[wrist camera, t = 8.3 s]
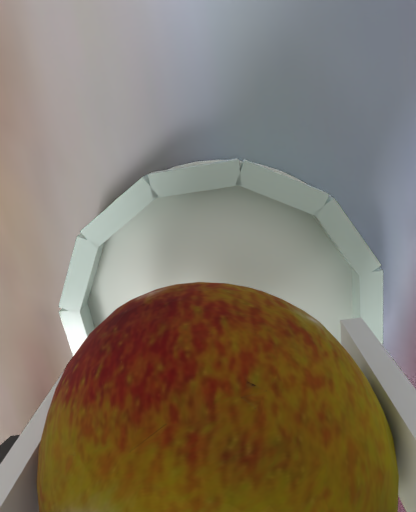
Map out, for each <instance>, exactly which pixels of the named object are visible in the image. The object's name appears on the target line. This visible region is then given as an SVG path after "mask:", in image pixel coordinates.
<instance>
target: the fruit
mask: <svg viewBox="0 0 416 512" xmlns="http://www.w3.org/2000/svg"><path fill="white" fill-rule="evenodd" d="M398 487H399V474H398V467H397V460H396V453H395V447H394V440H393V436H392V432H391V429H390V426H389V424H388V421H387V419H386V416H385V414H384V411H383V409H382V407H381V405H380V403H379V401H378V398H377V396H376V395H375V393H374V391H373V389H372V387H371V385H370V383H369V382H368V380H367V378H366V377H365V375H364V374H363V372H362V371H361V369H360V368H359V367H358V365H357V364H356V362H355V361H354V359H353V358H352V357H351V356H350V354H349V353H348V352H347V351H346V350H345V348H344V347H343V346H342V345H341V344H340V343H339V341H338V340H337V339H336V338H335V337H334V336H333V335H332V334H331V333H330V332H329V331H328V330H327V329H326V328H325V327H324V326H323V325H322V324H321V323H320V322H319V321H318V320H316V319H315V318H314V317H312V316H311V315H309V314H308V313H306V312H305V311H303V310H302V309H300V308H298V307H296V306H294V305H292V304H290V303H289V302H287V301H285V300H283V299H281V298H278V297H276V296H273V295H271V294H268V293H266V292H263V291H260V290H256V289H253V288H249V287H245V286H239V285H233V284H228V283H210V282H194V283H184V284H175V285H171V286H167V287H163V288H159V289H156V290H153V291H151V292H148V293H146V294H144V295H141V296H139V297H136V298H134V299H131V300H130V301H128V302H127V303H125V304H123V305H122V306H120V307H118V308H117V309H116V310H115V311H114V312H112V313H111V314H110V315H109V316H108V317H107V318H106V319H105V320H104V321H103V322H102V323H101V324H99V325H98V326H97V327H96V328H95V329H94V330H93V331H92V332H91V333H90V334H89V335H88V337H87V338H86V339H85V341H84V342H83V344H82V345H81V346H80V348H79V349H78V350H77V352H76V353H75V355H74V356H73V357H72V359H71V360H70V362H69V363H68V364H67V366H66V368H65V370H64V372H63V374H62V377H61V379H60V381H59V383H58V385H57V387H56V389H55V392H54V395H53V398H52V401H51V404H50V407H49V410H48V413H47V417H46V421H45V425H44V429H43V433H42V437H41V441H40V445H39V453H38V469H37V494H38V504H39V512H397V511H398Z"/></svg>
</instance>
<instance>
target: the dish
mask: <svg viewBox="0 0 416 512" xmlns="http://www.w3.org/2000/svg"><path fill="white" fill-rule="evenodd" d="M80 233H81V234H80V235H78V236H77V238H76V242H75V246H74V249H73V253H72V257H71V261H70V265H69V268H68V272H67V276H66V280H65V284H64V288H63V291H62V295H61V299H60V303H59V307H60V308H62V309H61V310H60V311H59V315H60V318H61V321H62V324H63V327H64V330H65V333H66V336H67V339H68V342H69V345H70V348H71V351H72V354H73V356H74V355H75V353H76V352H77V350H78V349H79V348H80V346H81V345H82V344H83V342H84V341H85V339H86V338H87V337H88V335H89V334H90V333H91V332H92V331H93V330H94V329H95V328H96V327H97V326H98V325H99V324H101V323H102V322H103V321H104V320H105V319H106V318H107V317H108V316H109V315H110V314H111V313H112V312H114V311H115V310H116V309H117V308H118V307H120V306H122V305H123V304H125V303H127V302H128V301H130V300H131V299H134V298H136V297H139V296H141V295H144V294H146V293H148V292H151V291H153V290H156V289H159V288H163V287H167V286H171V285H175V284H184V283H194V282H210V283H228V284H233V285H239V286H245V287H249V288H253V289H256V290H260V291H263V292H266V293H268V294H271V295H273V296H276V297H278V298H281V299H283V300H285V301H287V302H289V303H290V304H292V305H294V306H296V307H298V308H300V309H302V310H303V311H305V312H306V313H308V314H309V315H311V316H312V317H314V318H315V319H316V320H318V321H319V322H320V323H321V324H322V325H323V326H324V327H325V328H326V329H327V330H328V331H329V332H330V333H331V334H332V335H333V336H334V337H335V338H336V339H337V340H338V341H339V343H340V344H341V324H340V320H344V319H353V318H362V319H363V320H364V322H365V323H366V324H367V326H368V327H369V328H370V330H371V331H372V332H373V333H374V335H375V336H376V337H377V339H378V340H379V341H380V343H381V344H383V270H382V269H381V268H380V266H381V264H380V262H379V261H378V260H377V258H376V257H375V255H374V254H373V252H372V251H371V250H370V248H369V247H368V245H367V244H366V242H365V241H364V240H363V238H362V237H361V235H360V234H359V232H358V231H357V230H356V228H355V227H354V225H353V224H352V222H351V221H350V220H349V218H348V217H347V215H346V214H345V212H344V211H343V210H342V208H341V207H340V205H339V204H338V202H337V201H336V200H335V198H333V197H332V196H330V194H328V193H326V192H324V191H322V190H320V189H317V188H315V187H312V186H310V185H308V184H306V183H305V182H303V181H301V180H299V179H297V178H295V177H293V176H291V175H289V174H287V173H285V172H283V171H280V170H277V169H274V168H271V167H268V166H265V165H262V164H257V163H253V162H250V161H248V160H245V159H243V161H240V160H238V158H235V159H229V160H219V159H217V160H206V161H196V162H191V163H187V164H183V165H179V166H174V167H172V168H169V169H167V170H162V171H156V172H152V173H149V174H148V175H145V176H143V177H142V178H140V179H139V180H138V181H137V182H136V183H135V184H134V185H132V186H131V187H130V188H129V189H128V190H127V191H126V192H124V193H123V194H122V195H120V196H119V197H118V198H116V199H115V200H114V201H113V202H112V203H111V204H110V205H109V206H108V207H107V208H106V209H105V210H104V211H103V212H102V213H101V214H99V215H98V216H97V217H96V218H95V219H94V220H93V221H91V222H90V223H89V224H88V225H87V226H86V227H85V228H83V229H82V230H81V231H80Z"/></svg>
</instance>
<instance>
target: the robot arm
mask: <svg viewBox="0 0 416 512" xmlns="http://www.w3.org/2000/svg"><path fill="white" fill-rule="evenodd" d="M340 324H341V345H342V346H343V347H344V348H345V350H346V351H347V352H348V353H349V354H350V356H351V357H352V358H353V359H354V361H355V362H356V364H357V365H358V367H359V368H360V369H361V371H362V372H363V374H364V375H365V377H366V378H367V380H368V382H369V383H370V385H371V387H372V389H373V391H374V393H375V395H376V396H377V398H378V401H379V403H380V405H381V407H382V409H383V411H384V414H385V416H386V419H387V421H388V424H389V426H390V429H391V432H392V436H393V440H394V447H395V453H396V460H397V467H398V474H399V487H398V496H399V498H400V500H401V502H402V504H403V506H404V508H405V510H406V512H416V389H415V388H414V387H413V385H412V384H411V383H410V381H409V380H408V379H407V377H406V376H405V375H404V373H403V372H402V371H401V369H400V368H399V367H398V365H397V364H396V363H395V361H394V360H393V359H392V357H391V356H390V355H389V353H388V352H387V351H386V349H385V348H384V347H383V345H382V344H381V343H380V341H379V340H378V339H377V337H376V336H375V335H374V333H373V332H372V331H371V330H370V328H369V327H368V326H367V324H366V323H365V322H364V320H363V319H362V318H353V319H344V320H340ZM63 372H64V371H63ZM62 374H63V373H62ZM62 374H61V376H60V377H59V379H58V380H57V382H56V383H55V385H54V386H53V388H52V389H51V390H50V392H49V393H48V395H47V396H46V398H45V399H44V401H43V402H42V404H41V405H40V407H39V408H38V410H37V411H36V412H35V414H34V415H33V417H32V418H31V420H30V421H29V423H28V424H27V426H26V427H25V429H24V430H23V432H22V433H21V434H20V435H16V436H10V437H9V438H8V439H7V440H6V441H5V442H4V443H2V444H1V445H0V512H39V504H38V494H37V469H38V453H39V445H40V441H41V437H42V433H43V429H44V425H45V421H46V417H47V413H48V410H49V407H50V404H51V401H52V398H53V395H54V392H55V389H56V387H57V385H58V383H59V381H60V379H61V377H62Z"/></svg>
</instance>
